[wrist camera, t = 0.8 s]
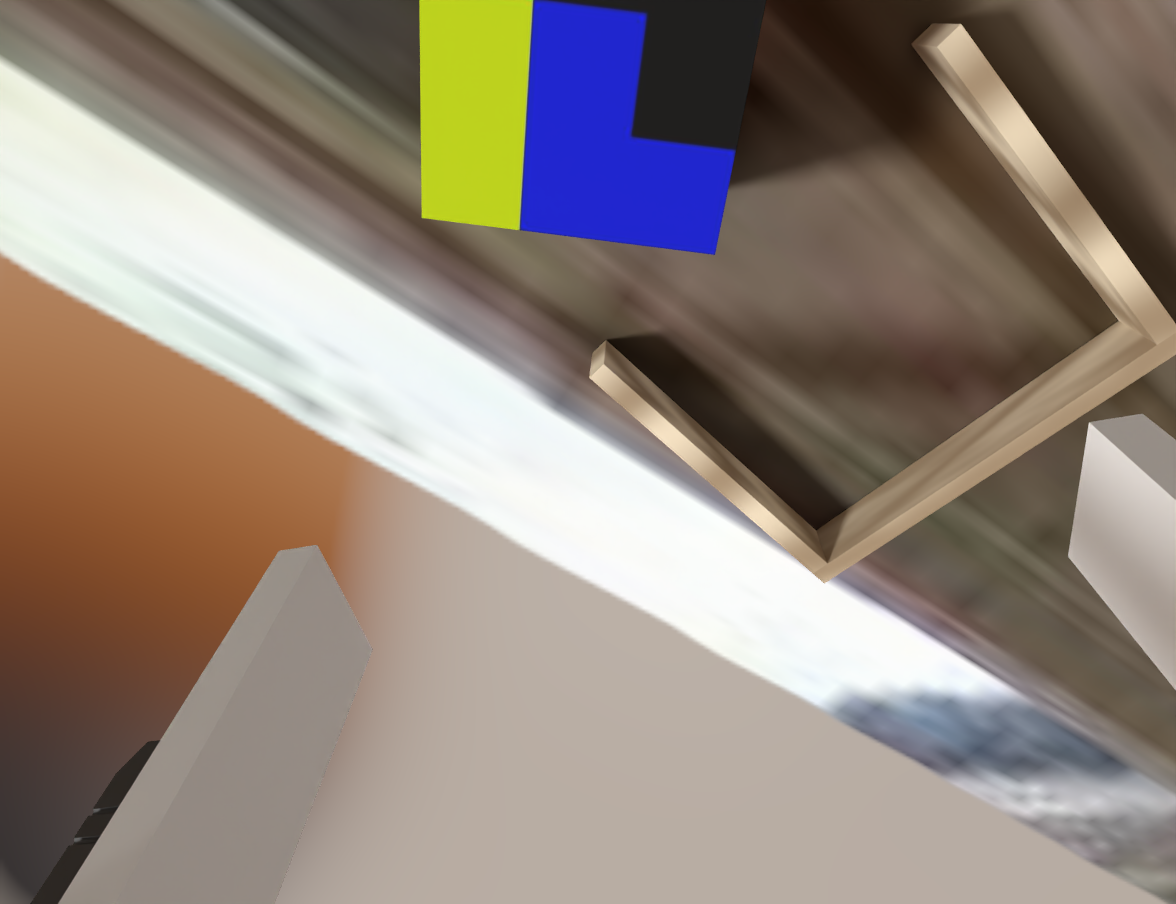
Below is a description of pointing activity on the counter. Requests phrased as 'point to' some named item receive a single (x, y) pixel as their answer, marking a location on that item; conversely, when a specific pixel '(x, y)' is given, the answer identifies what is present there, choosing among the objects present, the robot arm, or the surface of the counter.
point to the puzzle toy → (585, 115)
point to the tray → (1004, 428)
